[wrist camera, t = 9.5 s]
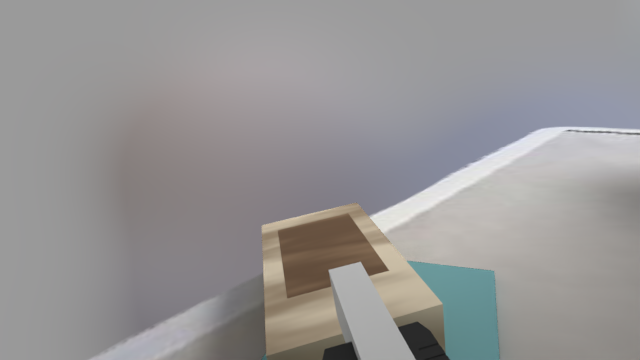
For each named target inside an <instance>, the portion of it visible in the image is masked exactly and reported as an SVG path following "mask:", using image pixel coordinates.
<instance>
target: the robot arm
mask: <svg viewBox="0 0 640 360" xmlns="http://www.w3.org/2000/svg"><path fill="white" fill-rule="evenodd" d="M329 276H330V281H331V286H332V291H333V297H334V302H335V307H336V313H337V318H338V321H339V324H340V327H341V330H342V333H343V336H344V340H345V343H344V344H341V345H337V346H334V347H330V348H327V349H325V350H324V354H323V359H322V360H450V359H449V357H448V356H446V353H445V352H444V350H443V349H442V347H441V346H440V345H439V343H438V341H437V340H436V338H435V337H434V336H433V334H432V333H431V331H430V330H429V329H427V328H426V327H425V326H423V325H422V324H420V323H419V322H418V321H417V322H414V323H410V324H407V325H403V326H400V327H397V326H396V324H395V322H394V320H393V318H392V317H391V315H390V313H389V311H388V310H387V308H386V306H385V304H384V302H383V301H382V299H381V297H380V295H379V294H378V292H377V290H376V288H375V286H374V285H373V283H372V281H371V279H370V278H369V276H368V274H367V272H366V270H365V269H364V267H363V265H362V263H361V262H358V263H354V264H350V265H346V266H342V267H338V268H334V269H330V270H329Z"/></svg>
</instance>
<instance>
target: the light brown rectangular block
mask: <svg viewBox="0 0 640 360" xmlns="http://www.w3.org/2000/svg"><path fill="white" fill-rule="evenodd" d="M262 245H263V277H264V307H265V338H266V357H267V360H322V359H323V354H324V350H325V349H327V348H330V347H334V346H337V345H341V344H344V343H345V340H344V336H343V333H342V330H341V327H340V324H339V321H338V318H337V313H336V307H335V302H334V297H333V291H332V286H331V281H330V276H329V270H330V269H334V268H338V267H342V266H346V265H350V264H354V263H358V262H361V263H362V265H363V267H364V269H365V270H366V272H367V274H368V276H369V278H370V279H371V281H372V283H373V285H374V286H375V288H376V290H377V292H378V294H379V295H380V297H381V299H382V301H383V302H384V304H385V306H386V308H387V310H388V311H389V313H390V315H391V317H392V318H393V320H394V322H395V324H396V326H397V327H400V326H403V325H407V324H410V323H414V322H417V321H418V322H419V323H420V324H422V325H423V326H425V327H426V328H427V329H429V330H430V331H431V333H432V334H433V336H434V337H435V338H436V340H437V341H438V343H439V345H440V346H441V347H442V349H443V350H444V352H445V334H444V315H443V303H442V302H441V301H440V300H439V299H438V297H437V296H436V295H435V294H434V293H433V292H432V290H431V289H430V288H429V287H428V286H427V284H426V283H425V282H424V281H423V280H422V279H421V277H420V276H419V275H418V274H417V273H416V272H415V270H414V269H413V268H412V267H411V266H410V265H409V263H408V262H407V261H406V260H405V259H404V258H403V256H402V255H401V254H400V253H399V252H398V250H397V249H396V248H395V247H394V246H393V245H392V243H391V242H390V241H389V240H388V239H387V238H386V236H385V235H384V234H383V233H382V232H381V231H380V229H379V228H378V227H377V226H376V225H375V223H374V222H373V221H372V220H371V219H370V218H369V216H368V215H367V214H366V213H365V212H364V211H363V210H362V208H361V207H360V206H359V205H358V204H357V203H353V204H349V205H345V206H340V207H337V208H332V209H328V210H324V211H320V212H315V213H311V214H308V215H303V216H299V217H295V218H291V219H287V220H282V221H279V222H274V223H270V224H265V225H262ZM445 353H446V352H445Z"/></svg>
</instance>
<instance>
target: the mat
mask: <svg viewBox="0 0 640 360" xmlns="http://www.w3.org/2000/svg"><path fill="white" fill-rule="evenodd" d="M407 262H408V263H409V265H410V266H411V267H412V268H413V269H414V270H415V272H416V273H417V274H418V275H419V276H420V277H421V279H422V280H423V281H424V282H425V283H426V284H427V286H428V287H429V288H430V289H431V290H432V292H433V293H434V294H435V295H436V296H437V297H438V299H439V300H440V301H441V302H442V303H443V315H444V334H445V352H446V356H448V357H449V359H450V360H499V343H498V326H497V309H496V293H495V276H494V271H491V270H482V269H473V268H465V267H456V266H447V265H439V264H430V263H421V262H413V261H407ZM261 360H267V357H266V353H265V355H264V356H263V358H262V359H261Z"/></svg>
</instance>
